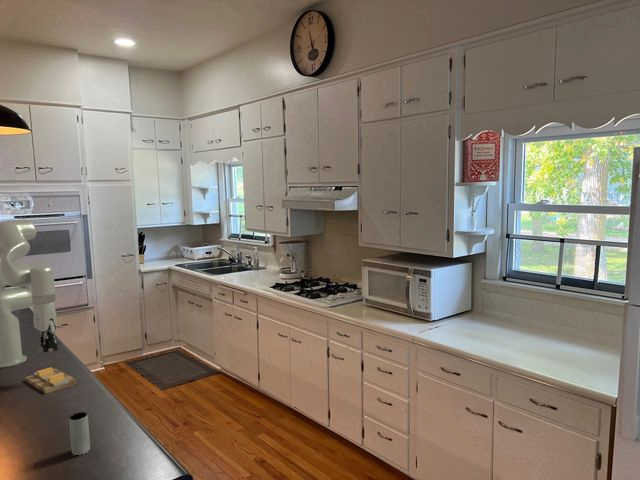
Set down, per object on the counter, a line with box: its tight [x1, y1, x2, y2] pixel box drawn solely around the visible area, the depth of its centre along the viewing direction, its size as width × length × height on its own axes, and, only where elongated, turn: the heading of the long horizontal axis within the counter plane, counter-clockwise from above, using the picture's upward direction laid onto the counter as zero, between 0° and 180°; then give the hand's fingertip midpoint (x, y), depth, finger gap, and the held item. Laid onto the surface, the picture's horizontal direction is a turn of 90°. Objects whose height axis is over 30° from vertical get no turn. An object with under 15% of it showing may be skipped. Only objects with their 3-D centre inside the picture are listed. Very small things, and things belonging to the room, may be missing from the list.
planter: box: [68, 411, 91, 456], centre depth 129 cm, size 4×4×10 cm
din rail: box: [33, 371, 69, 387], centre depth 178 cm, size 19×5×1 cm, turn 51°
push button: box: [38, 328, 59, 353], centre depth 176 cm, size 7×5×10 cm
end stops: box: [36, 367, 64, 382], centre depth 178 cm, size 12×5×2 cm, turn 51°
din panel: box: [24, 368, 78, 394], centre depth 178 cm, size 19×11×2 cm, turn 51°
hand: (48, 346), depth 176 cm, fingers closed on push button, 3 cm apart
